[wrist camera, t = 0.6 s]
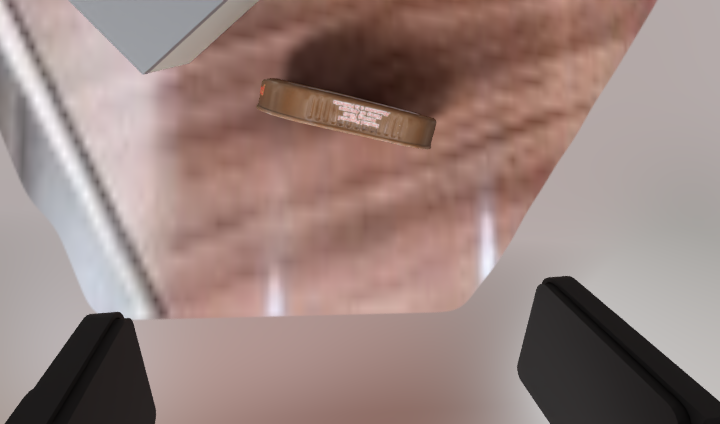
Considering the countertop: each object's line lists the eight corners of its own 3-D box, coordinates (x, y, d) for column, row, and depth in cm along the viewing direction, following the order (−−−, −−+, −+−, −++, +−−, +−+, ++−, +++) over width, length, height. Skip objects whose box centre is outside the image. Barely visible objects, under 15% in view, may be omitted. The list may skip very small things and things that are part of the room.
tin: (258, 103, 35) (251, 121, 28) (264, 67, 34) (258, 75, 27) (412, 139, 39) (443, 162, 32) (421, 107, 38) (456, 124, 31)
